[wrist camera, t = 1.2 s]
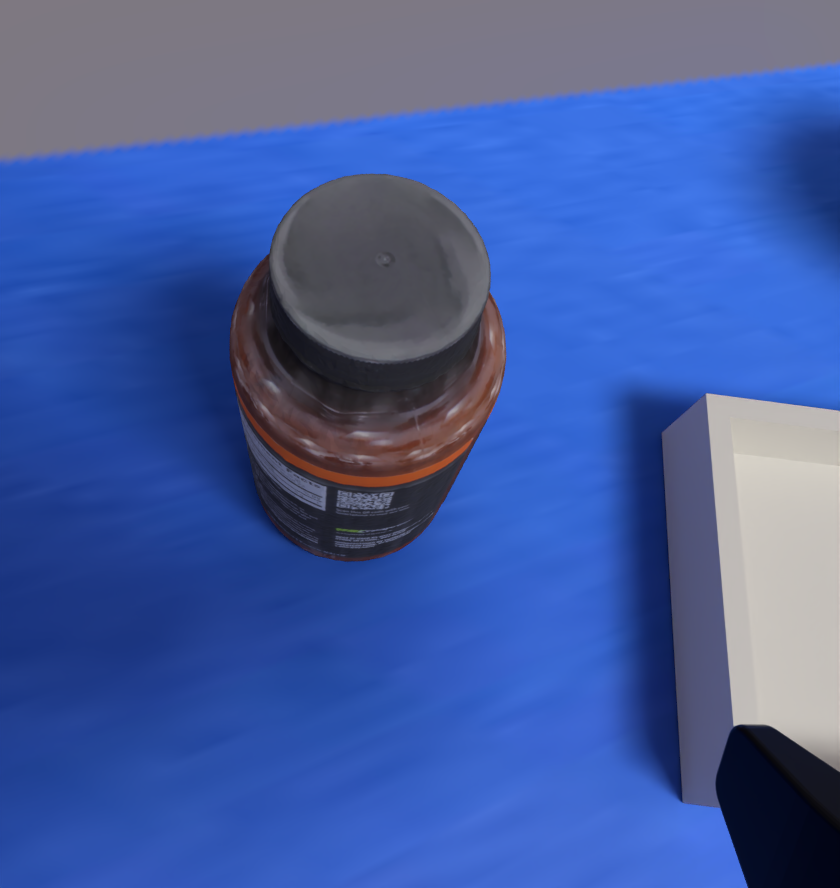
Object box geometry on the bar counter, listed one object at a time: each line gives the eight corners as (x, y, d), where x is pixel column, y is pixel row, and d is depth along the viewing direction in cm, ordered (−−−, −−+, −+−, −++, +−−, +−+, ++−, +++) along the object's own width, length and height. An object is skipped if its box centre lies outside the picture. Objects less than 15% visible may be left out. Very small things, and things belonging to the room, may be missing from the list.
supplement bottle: (384, 358, 26) (441, 88, 15) (480, 508, 24) (616, 322, 14) (218, 437, 24) (154, 190, 13) (311, 604, 22) (320, 474, 12)
